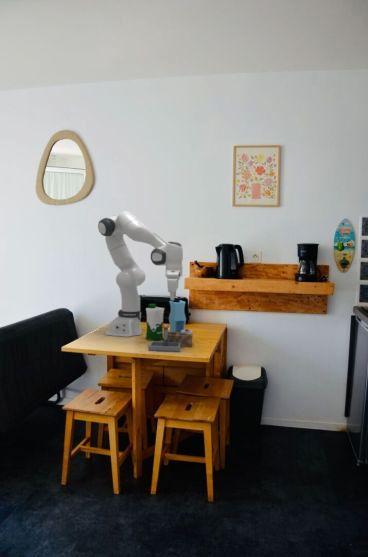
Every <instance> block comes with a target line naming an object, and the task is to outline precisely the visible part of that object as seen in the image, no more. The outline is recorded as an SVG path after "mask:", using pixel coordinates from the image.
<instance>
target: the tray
mask: <svg viewBox="0 0 368 557" xmlns="http://www.w3.org/2000/svg"><path fill="white" fill-rule="evenodd" d="M148 351H149V352H163V353H164V352H165V353H168V352H169V353H180V352H181V342H168V346H163V341H158V340H157V341H153V340H150V343H149V345H148Z"/></svg>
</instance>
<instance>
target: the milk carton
mask: <svg viewBox="0 0 368 557" xmlns="http://www.w3.org/2000/svg"><path fill="white" fill-rule="evenodd" d="M145 311H146V312H145V313H146V334H145V340H149V341H157V342H158V341H159V340H160V341H161V340H163V327H162V325H163V324H164V313H165V312H164V311H165V307H158V306H156V303H149V304H148V307H146V308H145Z"/></svg>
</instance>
